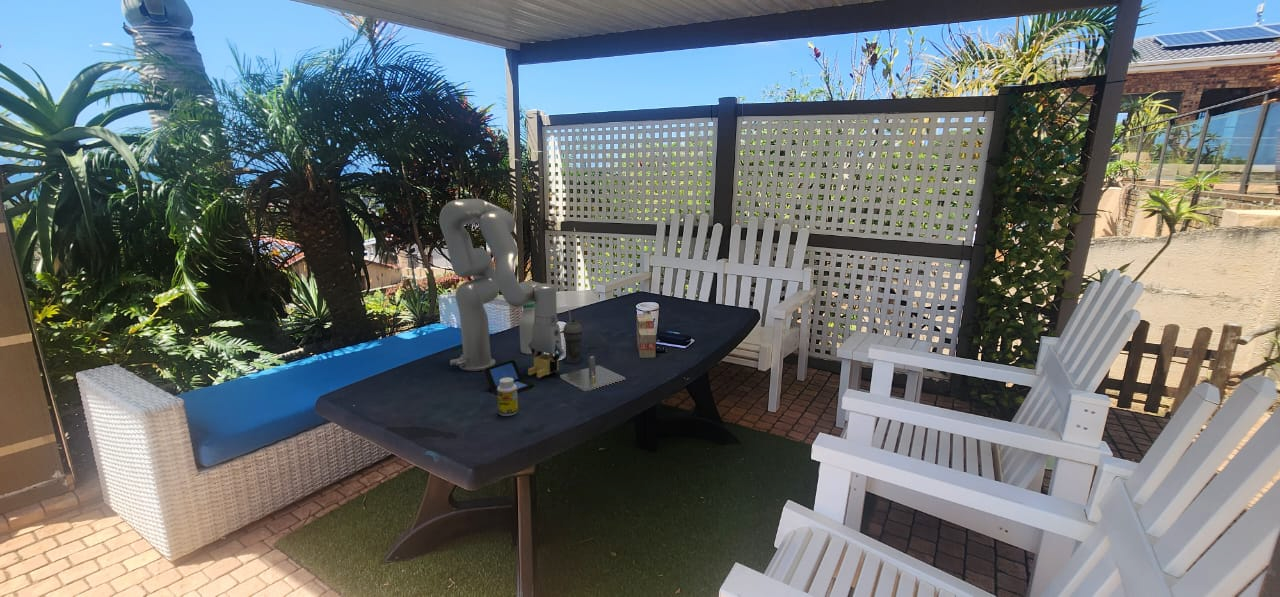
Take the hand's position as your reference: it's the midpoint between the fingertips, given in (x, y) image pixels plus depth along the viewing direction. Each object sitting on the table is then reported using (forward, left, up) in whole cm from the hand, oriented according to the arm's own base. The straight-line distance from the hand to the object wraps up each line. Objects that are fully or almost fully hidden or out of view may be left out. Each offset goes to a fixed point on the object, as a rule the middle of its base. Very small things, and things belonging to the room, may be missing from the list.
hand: (546, 368), depth 186 cm
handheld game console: (-16, -4, -2) cm, 16 cm away
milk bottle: (+7, +26, -2) cm, 27 cm away
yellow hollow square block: (-2, -1, -1) cm, 2 cm away
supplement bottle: (-25, -22, -2) cm, 33 cm away
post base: (+9, -15, -2) cm, 18 cm away
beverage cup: (+14, +5, -2) cm, 16 cm away
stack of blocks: (+45, -1, -2) cm, 45 cm away
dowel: (+7, -19, -2) cm, 20 cm away
